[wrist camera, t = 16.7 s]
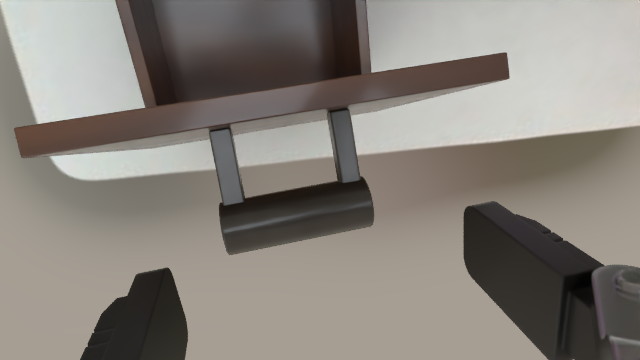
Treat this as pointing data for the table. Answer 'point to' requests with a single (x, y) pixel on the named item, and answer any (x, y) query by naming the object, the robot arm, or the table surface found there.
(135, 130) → the lid
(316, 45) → the chest
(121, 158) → the table surface
